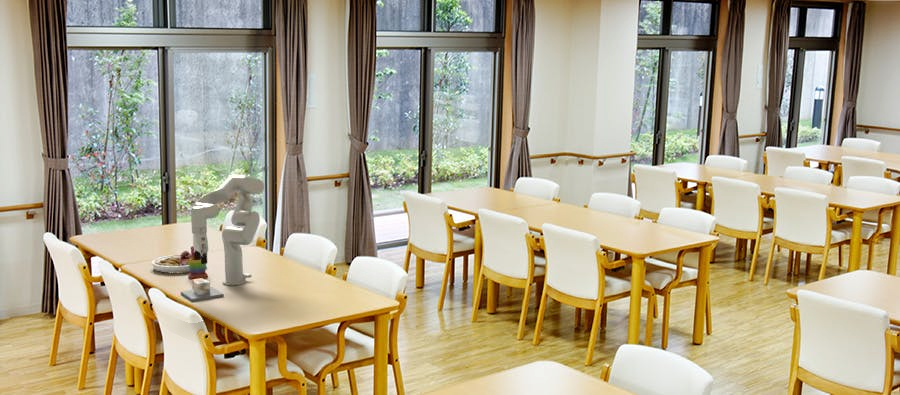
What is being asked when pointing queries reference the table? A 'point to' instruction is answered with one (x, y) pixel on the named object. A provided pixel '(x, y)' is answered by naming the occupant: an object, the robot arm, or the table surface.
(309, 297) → the table surface
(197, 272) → the stacking bear
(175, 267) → the bowl
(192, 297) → the base board
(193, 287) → the terracotta block
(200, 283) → the cream block
